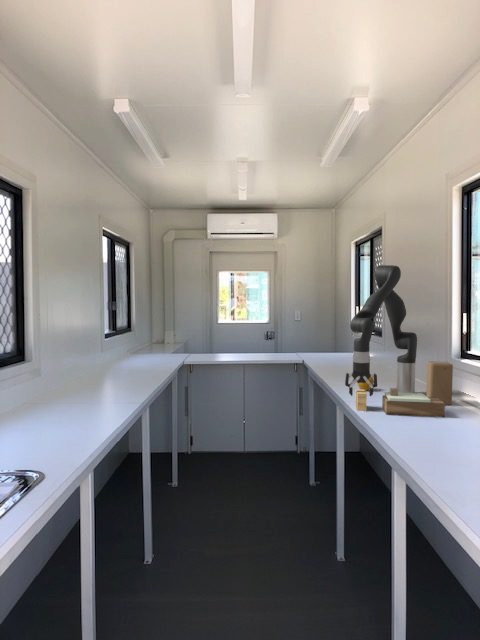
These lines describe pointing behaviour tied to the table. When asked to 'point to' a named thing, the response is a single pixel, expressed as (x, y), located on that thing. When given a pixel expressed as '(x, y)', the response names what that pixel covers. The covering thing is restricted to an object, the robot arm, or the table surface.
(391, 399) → the lid
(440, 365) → the wooden block
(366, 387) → the apple
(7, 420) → the table surface
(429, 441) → the table surface
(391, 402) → the wooden box
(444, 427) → the table surface
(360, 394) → the key
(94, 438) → the table surface
